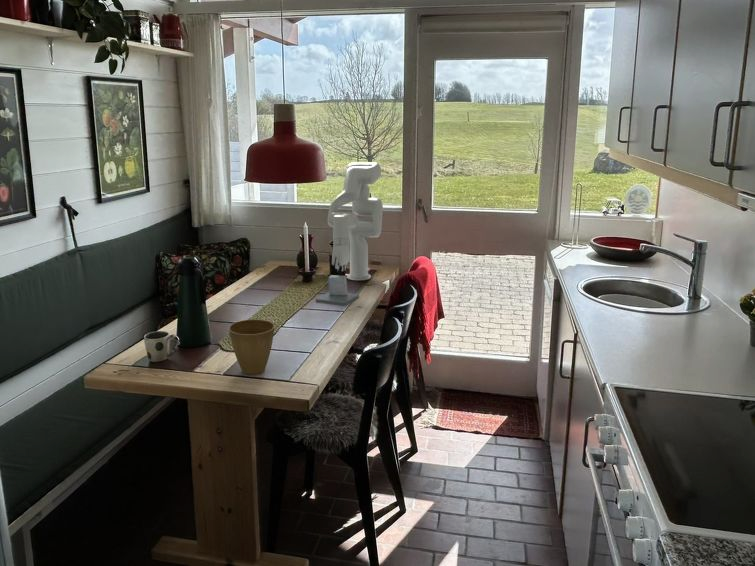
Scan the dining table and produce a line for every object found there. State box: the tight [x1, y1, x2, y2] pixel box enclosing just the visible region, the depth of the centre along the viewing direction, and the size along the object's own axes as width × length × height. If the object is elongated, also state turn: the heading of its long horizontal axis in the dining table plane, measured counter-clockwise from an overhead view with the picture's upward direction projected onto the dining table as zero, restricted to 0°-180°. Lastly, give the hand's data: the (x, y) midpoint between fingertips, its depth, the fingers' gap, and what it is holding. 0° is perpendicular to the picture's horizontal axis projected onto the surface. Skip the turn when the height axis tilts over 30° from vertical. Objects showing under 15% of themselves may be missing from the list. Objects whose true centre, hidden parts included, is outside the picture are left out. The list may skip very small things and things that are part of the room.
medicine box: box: [327, 274, 348, 296], centre depth 295 cm, size 8×4×9 cm, turn 79°
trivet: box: [315, 291, 360, 306], centre depth 293 cm, size 15×15×1 cm
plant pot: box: [228, 319, 275, 376], centre depth 209 cm, size 15×15×16 cm
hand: (341, 278), depth 298 cm, fingers closed
